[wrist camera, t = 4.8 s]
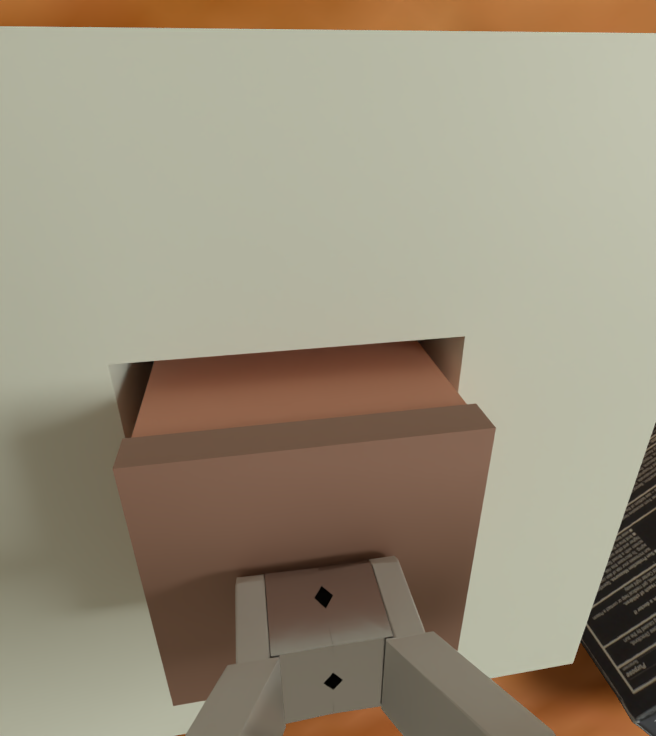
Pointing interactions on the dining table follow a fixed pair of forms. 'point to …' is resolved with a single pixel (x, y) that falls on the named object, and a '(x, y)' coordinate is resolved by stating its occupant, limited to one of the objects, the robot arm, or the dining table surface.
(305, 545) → the plunger
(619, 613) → the small box
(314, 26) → the dining table surface
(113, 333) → the housing
